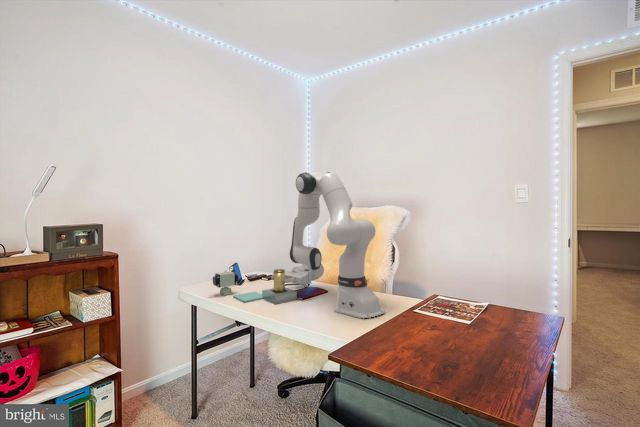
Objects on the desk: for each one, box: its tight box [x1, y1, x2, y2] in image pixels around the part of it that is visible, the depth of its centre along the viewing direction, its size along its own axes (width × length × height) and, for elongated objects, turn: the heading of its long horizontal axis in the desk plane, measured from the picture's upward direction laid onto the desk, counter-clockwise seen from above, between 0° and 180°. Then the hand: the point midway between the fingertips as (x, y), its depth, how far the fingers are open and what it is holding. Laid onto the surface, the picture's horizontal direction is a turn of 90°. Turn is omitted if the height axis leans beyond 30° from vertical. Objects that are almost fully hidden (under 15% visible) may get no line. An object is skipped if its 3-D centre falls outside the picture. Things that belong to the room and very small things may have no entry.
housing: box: [261, 286, 298, 305], centre depth 160 cm, size 12×12×4 cm
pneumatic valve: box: [212, 270, 239, 297], centre depth 168 cm, size 6×12×12 cm, turn 128°
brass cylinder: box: [273, 268, 286, 293], centre depth 160 cm, size 5×5×14 cm
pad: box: [232, 291, 264, 304], centre depth 163 cm, size 12×12×1 cm
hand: (278, 279), depth 160 cm, fingers open, 8 cm apart
